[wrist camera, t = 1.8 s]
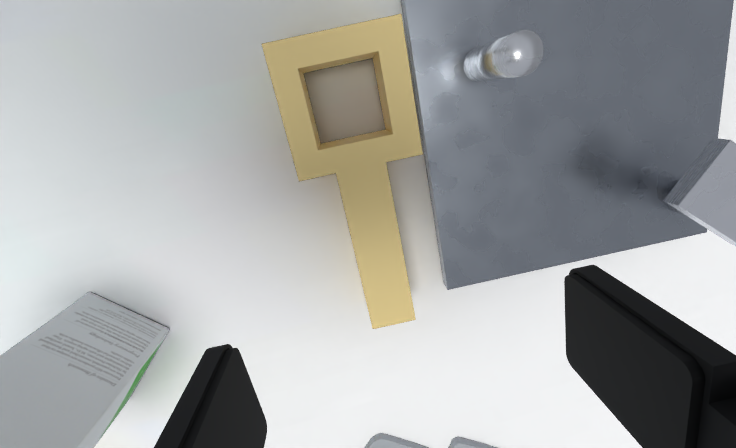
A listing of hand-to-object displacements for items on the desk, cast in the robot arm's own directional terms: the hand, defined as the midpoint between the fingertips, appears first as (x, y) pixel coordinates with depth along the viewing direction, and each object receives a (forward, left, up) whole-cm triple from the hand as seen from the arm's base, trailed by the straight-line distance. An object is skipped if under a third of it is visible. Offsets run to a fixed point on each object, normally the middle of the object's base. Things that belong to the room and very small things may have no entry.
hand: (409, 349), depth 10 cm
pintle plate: (-2, +14, -16) cm, 22 cm away
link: (-1, 0, -16) cm, 16 cm away
